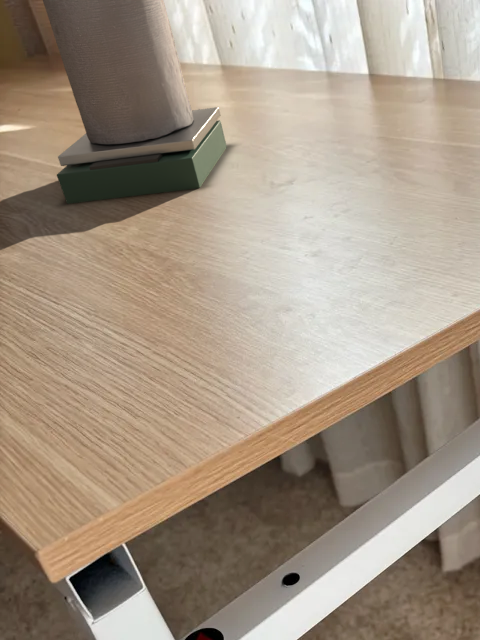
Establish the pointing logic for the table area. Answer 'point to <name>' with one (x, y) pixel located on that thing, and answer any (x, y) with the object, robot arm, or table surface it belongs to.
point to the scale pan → (143, 142)
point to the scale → (143, 172)
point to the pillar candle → (121, 67)
